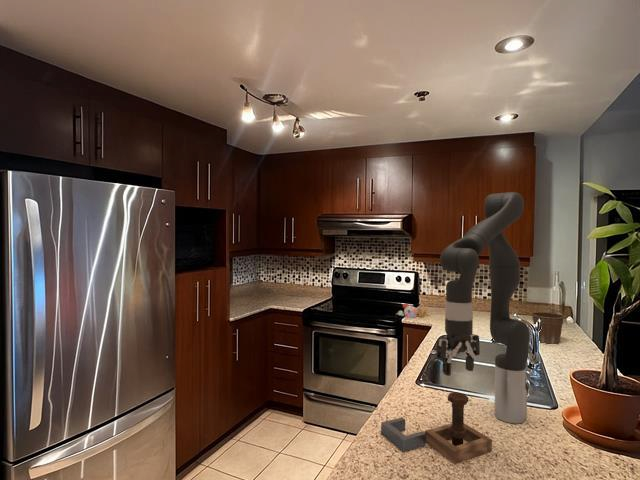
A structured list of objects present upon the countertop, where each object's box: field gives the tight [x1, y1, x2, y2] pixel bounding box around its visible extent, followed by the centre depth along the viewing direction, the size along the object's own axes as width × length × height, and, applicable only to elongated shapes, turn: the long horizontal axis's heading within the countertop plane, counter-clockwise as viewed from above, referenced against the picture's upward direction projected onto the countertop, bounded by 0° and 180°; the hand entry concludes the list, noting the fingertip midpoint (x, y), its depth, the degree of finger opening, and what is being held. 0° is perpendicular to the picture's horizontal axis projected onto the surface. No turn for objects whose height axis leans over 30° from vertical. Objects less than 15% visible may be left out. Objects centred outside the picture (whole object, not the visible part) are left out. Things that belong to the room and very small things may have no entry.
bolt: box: [447, 391, 469, 446], centre depth 113 cm, size 6×5×15 cm
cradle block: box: [380, 416, 427, 453], centre depth 117 cm, size 8×11×4 cm
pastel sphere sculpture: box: [395, 302, 430, 319], centre depth 287 cm, size 25×24×9 cm
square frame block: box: [424, 422, 493, 465], centre depth 113 cm, size 14×12×4 cm
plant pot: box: [531, 311, 566, 345], centre depth 220 cm, size 16×16×16 cm
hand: (458, 372), depth 113 cm, fingers open, 8 cm apart
